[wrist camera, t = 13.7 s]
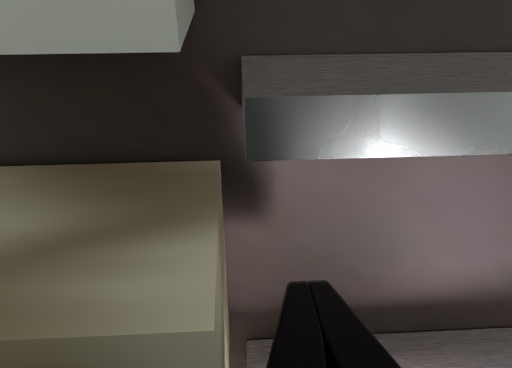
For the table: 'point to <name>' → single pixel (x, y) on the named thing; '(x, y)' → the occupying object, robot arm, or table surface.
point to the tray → (93, 26)
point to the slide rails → (384, 144)
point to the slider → (113, 266)
